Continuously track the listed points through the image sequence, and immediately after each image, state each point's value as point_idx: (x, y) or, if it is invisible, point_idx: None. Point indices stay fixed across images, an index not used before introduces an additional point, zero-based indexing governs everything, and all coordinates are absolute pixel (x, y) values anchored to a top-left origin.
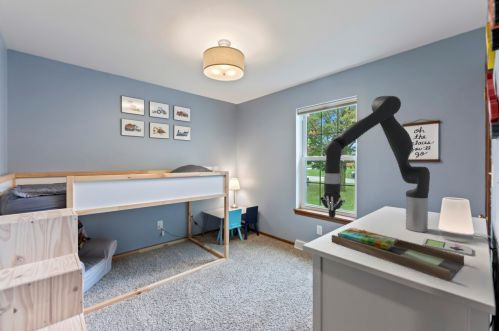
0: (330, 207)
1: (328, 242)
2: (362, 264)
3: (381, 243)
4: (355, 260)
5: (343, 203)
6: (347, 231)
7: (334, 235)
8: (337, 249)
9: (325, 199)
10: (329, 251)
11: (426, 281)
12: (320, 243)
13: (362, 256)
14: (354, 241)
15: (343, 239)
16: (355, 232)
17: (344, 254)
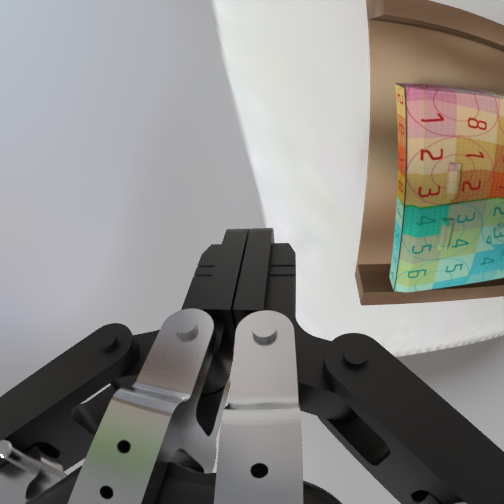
0: (222, 397)
1: (345, 289)
2: (494, 336)
3: None
4: (479, 333)
5: (501, 455)
6: (448, 245)
7: (374, 295)
8: (413, 317)
9: (52, 472)
10: (394, 346)
11: None
12: (323, 321)
13: (498, 298)
14: (485, 288)
15: (435, 300)
16: (497, 234)
17: (445, 329)
